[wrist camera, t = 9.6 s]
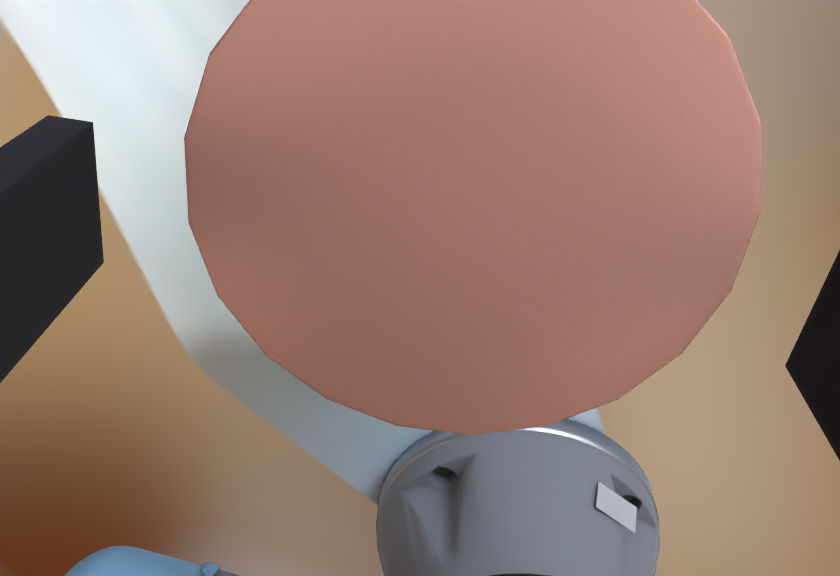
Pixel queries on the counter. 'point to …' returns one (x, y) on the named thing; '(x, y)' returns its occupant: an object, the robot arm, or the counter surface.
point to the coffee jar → (473, 197)
